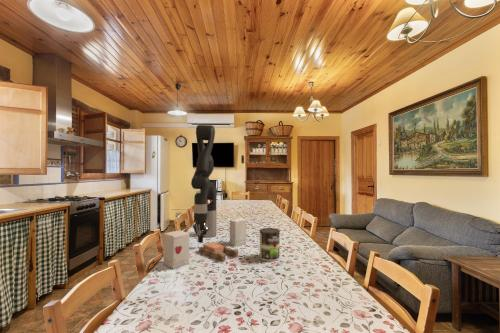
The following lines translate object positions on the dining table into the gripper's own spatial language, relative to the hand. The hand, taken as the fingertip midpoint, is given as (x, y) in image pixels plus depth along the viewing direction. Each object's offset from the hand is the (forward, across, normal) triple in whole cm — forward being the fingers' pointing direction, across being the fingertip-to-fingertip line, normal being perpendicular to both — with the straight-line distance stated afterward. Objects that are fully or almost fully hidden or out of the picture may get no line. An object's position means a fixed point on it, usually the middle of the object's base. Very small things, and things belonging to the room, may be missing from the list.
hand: (200, 242), depth 147 cm
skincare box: (+4, +10, +20) cm, 23 cm away
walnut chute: (+4, +15, 0) cm, 16 cm away
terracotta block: (+3, +12, 0) cm, 12 cm away
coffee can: (+4, +38, +16) cm, 41 cm away
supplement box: (+4, +11, -22) cm, 25 cm away
